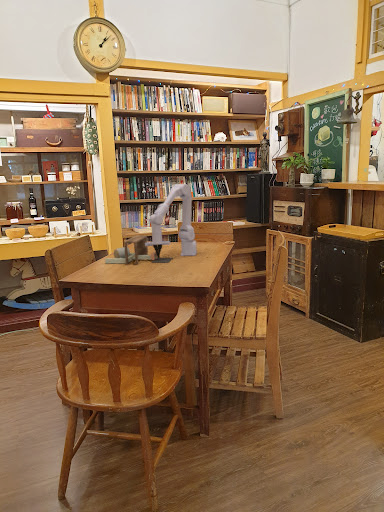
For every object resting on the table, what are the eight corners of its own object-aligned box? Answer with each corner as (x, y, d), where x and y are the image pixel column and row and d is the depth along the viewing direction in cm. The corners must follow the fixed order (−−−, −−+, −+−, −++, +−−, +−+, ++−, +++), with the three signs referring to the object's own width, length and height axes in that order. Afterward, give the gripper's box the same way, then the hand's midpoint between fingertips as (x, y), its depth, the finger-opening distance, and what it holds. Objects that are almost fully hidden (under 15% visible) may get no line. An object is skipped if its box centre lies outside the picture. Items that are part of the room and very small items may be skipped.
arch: (148, 256, 230) (146, 235, 227) (137, 264, 209) (135, 241, 206) (137, 256, 231) (135, 235, 228) (125, 264, 210) (123, 241, 208)
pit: (172, 258, 222) (172, 257, 222) (168, 262, 211) (168, 262, 211) (156, 258, 224) (156, 257, 224) (151, 262, 213) (151, 262, 212)
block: (159, 256, 226) (159, 250, 225) (152, 263, 210) (151, 256, 209) (115, 256, 231) (115, 250, 230) (105, 263, 215) (104, 256, 214)
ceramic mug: (113, 259, 224) (112, 247, 223) (125, 257, 229) (124, 245, 227) (121, 262, 216) (120, 250, 214) (133, 260, 221) (132, 248, 219)
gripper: (168, 233, 220) (169, 255, 222) (144, 234, 217) (145, 256, 220) (169, 234, 213) (171, 257, 216) (144, 236, 210) (146, 259, 213)
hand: (158, 257), depth 217 cm, fingers closed
